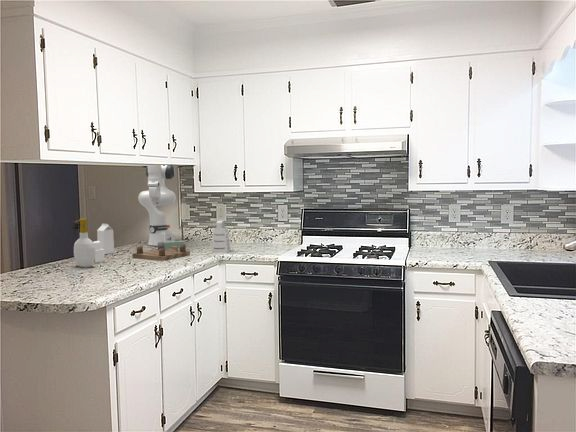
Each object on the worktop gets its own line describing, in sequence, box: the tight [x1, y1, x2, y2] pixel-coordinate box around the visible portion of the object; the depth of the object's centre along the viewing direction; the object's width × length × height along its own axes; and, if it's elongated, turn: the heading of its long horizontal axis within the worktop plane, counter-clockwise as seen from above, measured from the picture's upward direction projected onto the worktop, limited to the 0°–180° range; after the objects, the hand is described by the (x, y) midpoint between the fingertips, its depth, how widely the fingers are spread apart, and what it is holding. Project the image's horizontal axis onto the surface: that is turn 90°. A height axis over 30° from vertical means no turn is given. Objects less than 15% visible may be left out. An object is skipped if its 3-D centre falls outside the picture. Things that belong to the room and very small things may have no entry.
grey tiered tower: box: [210, 220, 232, 254], centre depth 311 cm, size 10×10×20 cm
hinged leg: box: [157, 240, 186, 249], centre depth 309 cm, size 17×4×4 cm, turn 121°
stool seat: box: [131, 244, 191, 262], centre depth 293 cm, size 24×24×6 cm
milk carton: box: [96, 223, 115, 255], centre depth 305 cm, size 7×7×19 cm
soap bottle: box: [73, 218, 95, 268], centre depth 260 cm, size 14×9×26 cm, turn 59°
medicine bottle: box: [91, 240, 106, 264], centre depth 275 cm, size 7×7×12 cm
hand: (155, 204), depth 315 cm, fingers open, 8 cm apart
